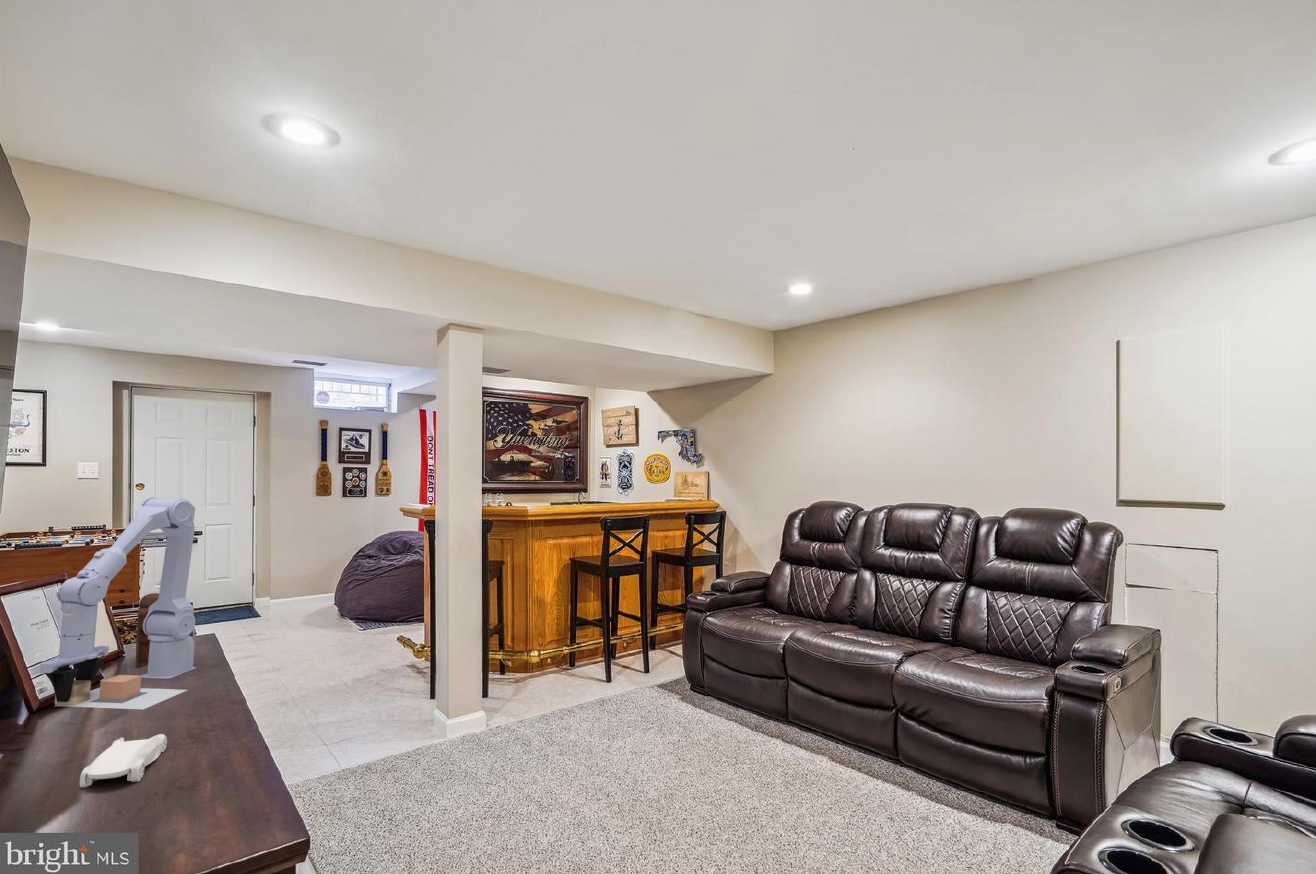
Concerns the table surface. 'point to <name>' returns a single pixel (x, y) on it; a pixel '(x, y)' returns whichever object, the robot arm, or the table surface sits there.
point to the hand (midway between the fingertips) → (72, 697)
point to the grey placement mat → (130, 699)
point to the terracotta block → (120, 687)
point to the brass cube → (77, 693)
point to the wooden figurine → (142, 638)
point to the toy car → (124, 760)
